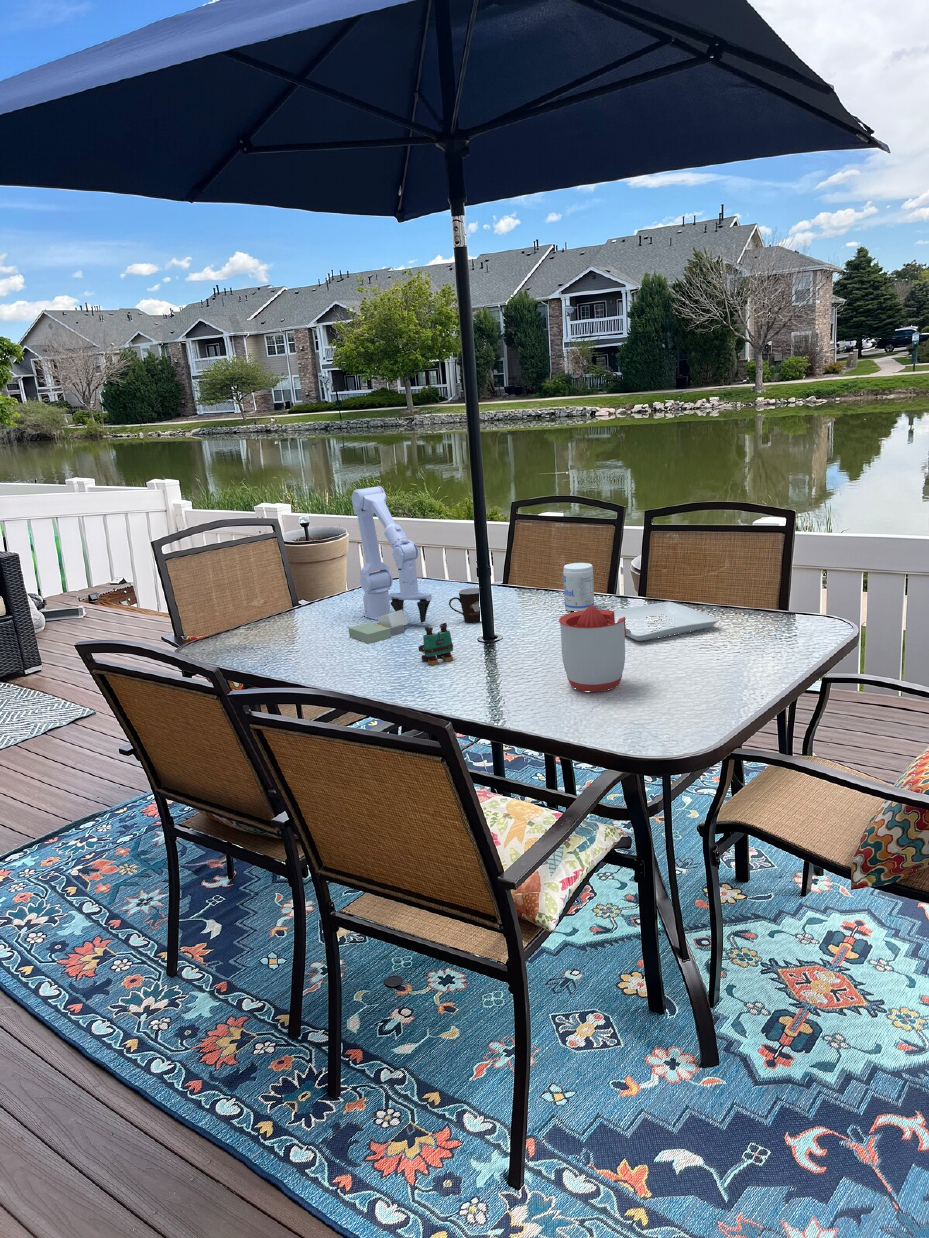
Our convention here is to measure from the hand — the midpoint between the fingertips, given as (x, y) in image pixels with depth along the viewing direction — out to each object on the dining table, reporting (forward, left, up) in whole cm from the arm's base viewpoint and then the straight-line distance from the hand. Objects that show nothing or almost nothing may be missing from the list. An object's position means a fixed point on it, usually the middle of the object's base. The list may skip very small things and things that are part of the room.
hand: (412, 621), depth 270 cm
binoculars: (+36, -16, -2) cm, 39 cm away
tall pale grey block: (0, -7, -1) cm, 7 cm away
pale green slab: (0, -13, -1) cm, 13 cm away
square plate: (+63, +44, -2) cm, 77 cm away
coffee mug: (+11, +15, -2) cm, 19 cm away
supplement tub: (+30, +46, -2) cm, 55 cm away
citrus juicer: (+85, -2, -2) cm, 85 cm away
